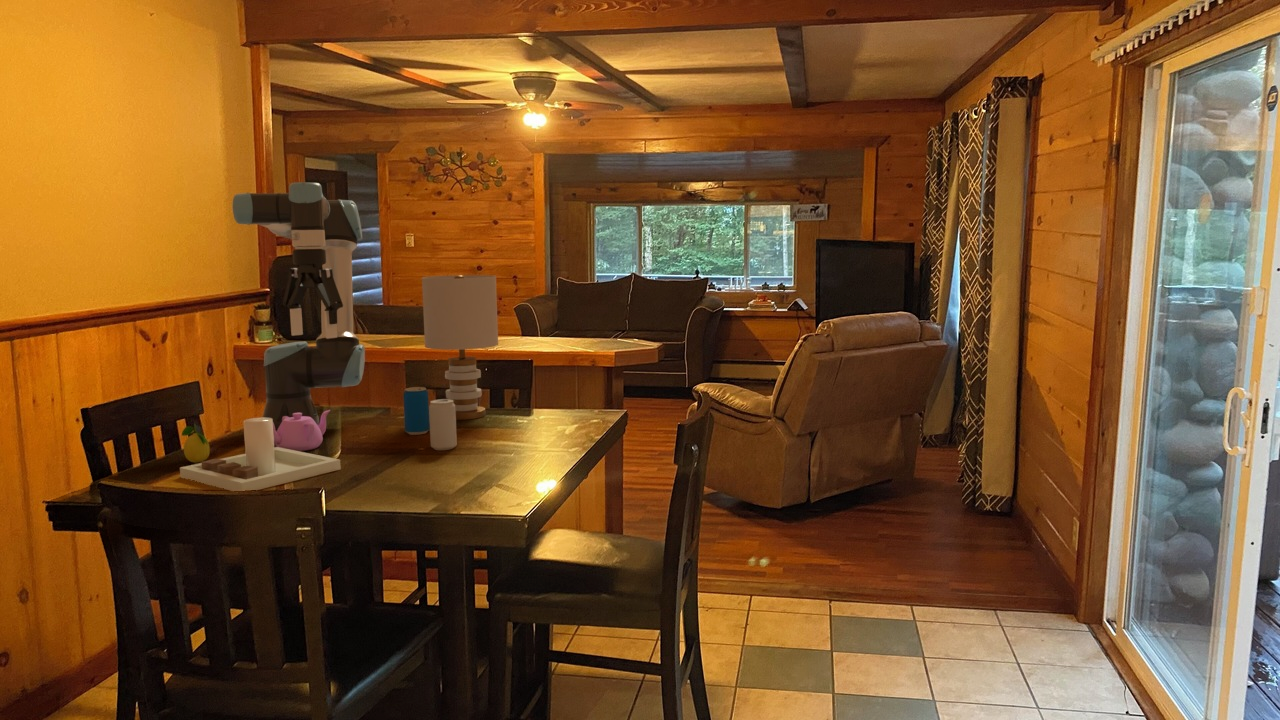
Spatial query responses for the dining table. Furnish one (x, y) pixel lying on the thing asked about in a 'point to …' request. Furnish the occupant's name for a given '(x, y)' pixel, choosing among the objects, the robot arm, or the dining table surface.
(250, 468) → the walnut cube
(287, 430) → the teapot
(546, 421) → the dining table surface
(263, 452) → the white rounded tapered cylinder
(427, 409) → the beverage can
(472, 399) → the lamp
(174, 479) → the dining table surface
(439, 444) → the beverage can
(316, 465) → the tray
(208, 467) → the walnut cube
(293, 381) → the robot arm
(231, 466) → the walnut cube
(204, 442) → the lemon
